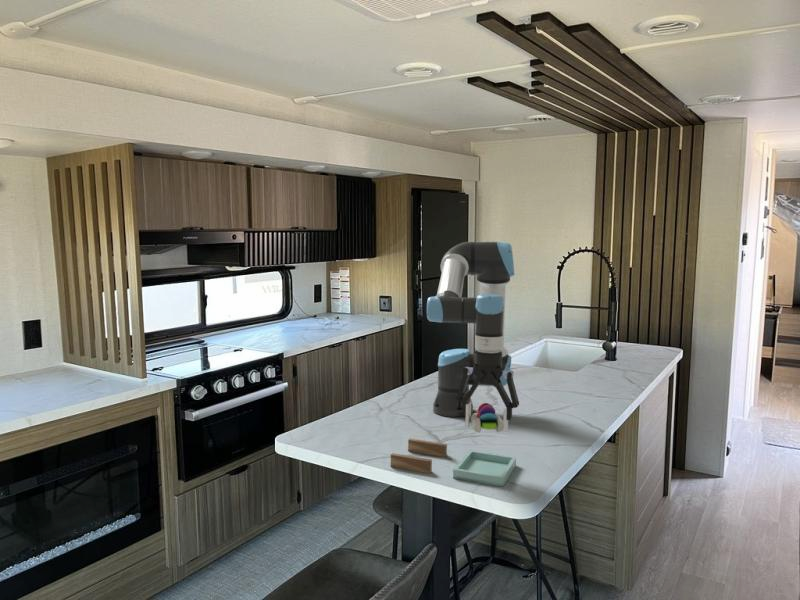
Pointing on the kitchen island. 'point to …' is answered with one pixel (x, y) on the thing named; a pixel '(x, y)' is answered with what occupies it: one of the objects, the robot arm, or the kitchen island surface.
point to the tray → (485, 468)
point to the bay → (418, 462)
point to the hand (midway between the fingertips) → (486, 428)
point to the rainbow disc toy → (486, 419)
